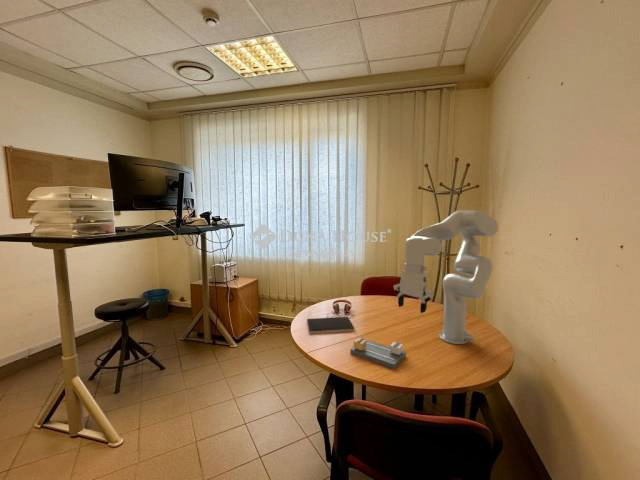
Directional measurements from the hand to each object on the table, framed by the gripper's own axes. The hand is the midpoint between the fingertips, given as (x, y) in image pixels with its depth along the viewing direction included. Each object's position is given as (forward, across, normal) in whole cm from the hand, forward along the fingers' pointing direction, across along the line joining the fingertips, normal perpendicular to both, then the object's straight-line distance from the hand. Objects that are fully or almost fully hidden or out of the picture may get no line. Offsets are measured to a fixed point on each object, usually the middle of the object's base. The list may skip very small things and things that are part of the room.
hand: (411, 309), depth 117 cm
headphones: (+21, +54, -19) cm, 61 cm away
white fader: (+19, +4, +3) cm, 20 cm away
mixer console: (+22, +11, +7) cm, 25 cm away
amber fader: (+19, +17, +11) cm, 28 cm away
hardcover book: (+22, +46, 0) cm, 51 cm away
